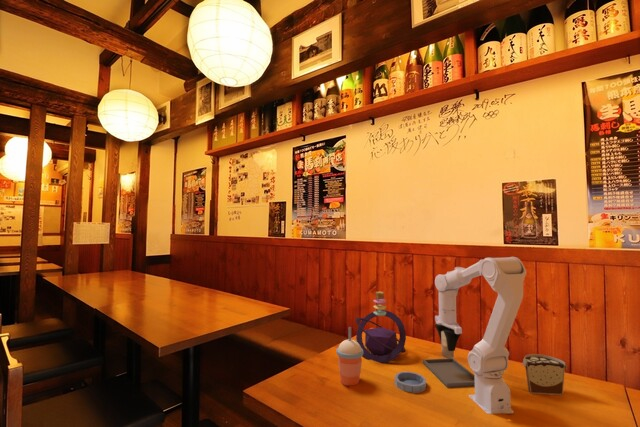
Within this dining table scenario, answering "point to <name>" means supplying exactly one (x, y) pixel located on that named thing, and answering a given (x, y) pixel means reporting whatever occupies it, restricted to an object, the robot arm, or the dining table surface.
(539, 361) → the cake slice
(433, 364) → the tray
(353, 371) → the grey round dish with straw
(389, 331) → the decorative bottle
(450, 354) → the dowel pin
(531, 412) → the dining table surface
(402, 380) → the grey round dish
